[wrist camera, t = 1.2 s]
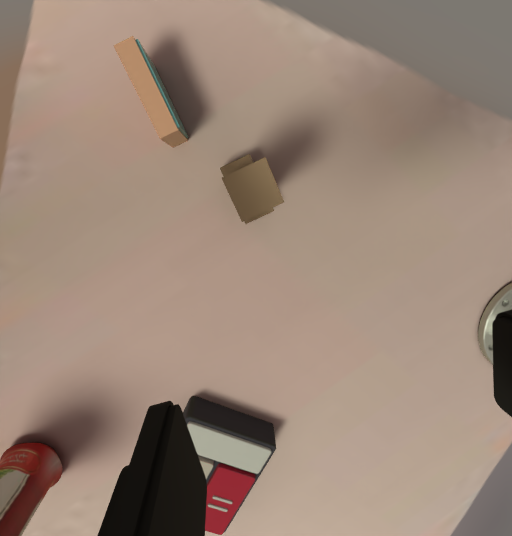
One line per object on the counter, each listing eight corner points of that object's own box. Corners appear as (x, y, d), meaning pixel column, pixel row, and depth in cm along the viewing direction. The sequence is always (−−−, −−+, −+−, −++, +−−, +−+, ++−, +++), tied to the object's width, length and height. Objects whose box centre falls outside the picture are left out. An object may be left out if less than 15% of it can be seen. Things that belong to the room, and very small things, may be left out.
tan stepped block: (248, 156, 31) (256, 136, 19) (271, 209, 32) (291, 220, 20) (220, 169, 31) (212, 157, 19) (244, 221, 32) (250, 239, 20)
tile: (153, 64, 28) (135, 34, 23) (190, 139, 30) (180, 128, 25) (136, 72, 28) (113, 45, 23) (173, 147, 30) (160, 138, 25)
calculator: (137, 517, 36) (185, 421, 33) (148, 482, 41) (191, 393, 37) (223, 541, 38) (278, 453, 35) (225, 505, 42) (274, 423, 39)
